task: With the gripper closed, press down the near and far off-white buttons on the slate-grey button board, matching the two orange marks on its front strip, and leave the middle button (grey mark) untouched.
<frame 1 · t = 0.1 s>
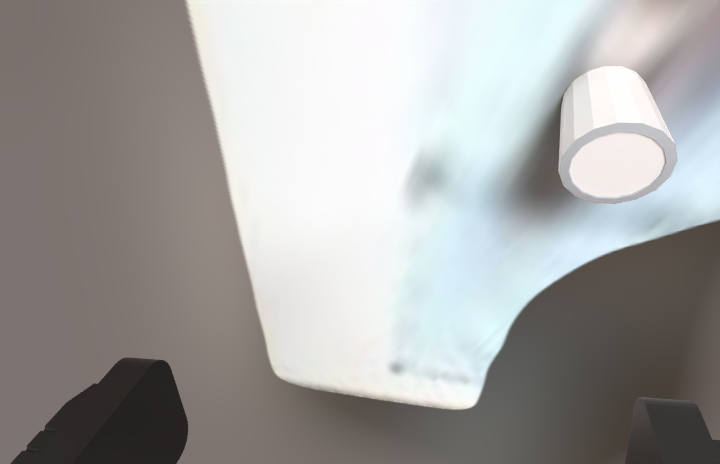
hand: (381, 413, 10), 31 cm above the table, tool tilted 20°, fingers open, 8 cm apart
white cup: (603, 99, 40), on the table
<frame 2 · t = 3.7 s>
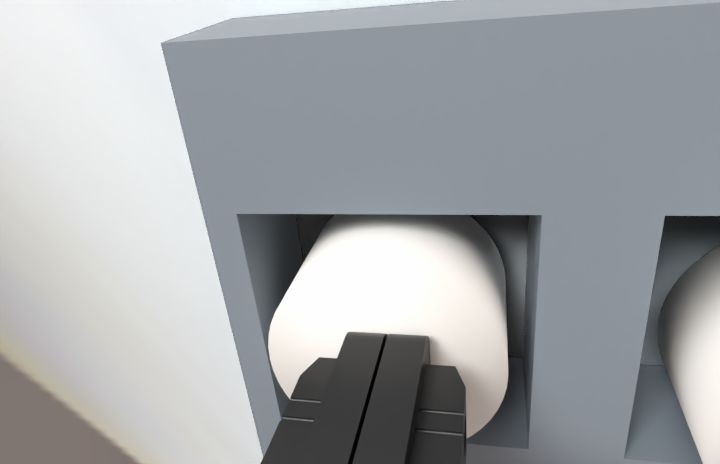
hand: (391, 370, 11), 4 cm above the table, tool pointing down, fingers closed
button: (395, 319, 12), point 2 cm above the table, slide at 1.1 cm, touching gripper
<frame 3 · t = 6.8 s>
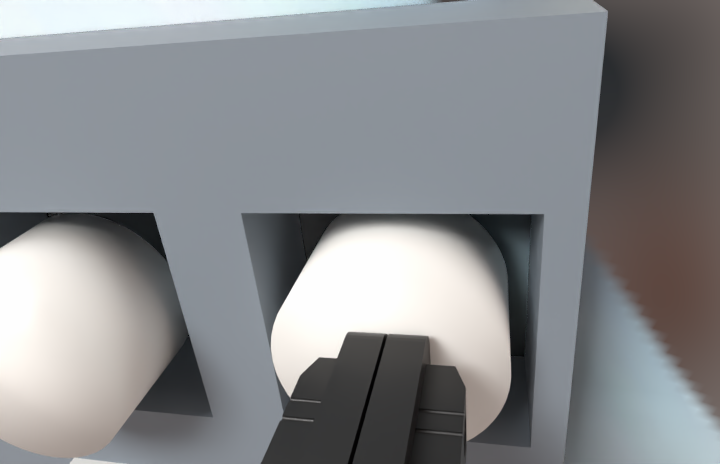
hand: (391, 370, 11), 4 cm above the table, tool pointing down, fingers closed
middle button: (64, 332, 13), point 4 cm above the table, slide at 0.0 cm
button board: (165, 314, 17), on the table
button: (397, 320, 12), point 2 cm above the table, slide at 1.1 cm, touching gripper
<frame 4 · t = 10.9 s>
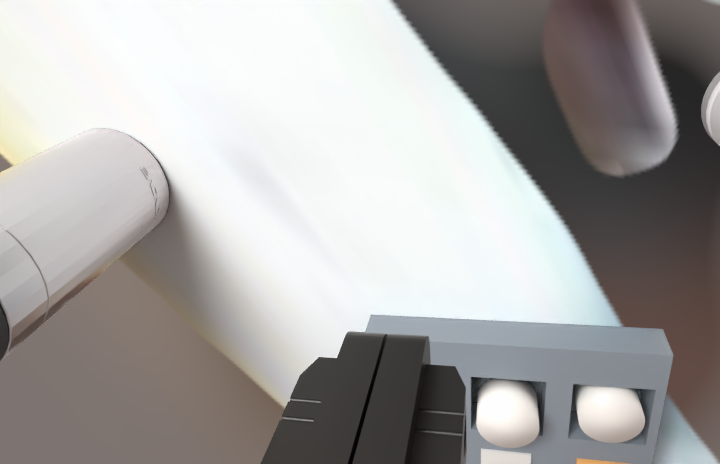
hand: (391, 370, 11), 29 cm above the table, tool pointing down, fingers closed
middle button: (507, 411, 44), point 4 cm above the table, slide at 0.0 cm
button board: (506, 398, 48), on the table
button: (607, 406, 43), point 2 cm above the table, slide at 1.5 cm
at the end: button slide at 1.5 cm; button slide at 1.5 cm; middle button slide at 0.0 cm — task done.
